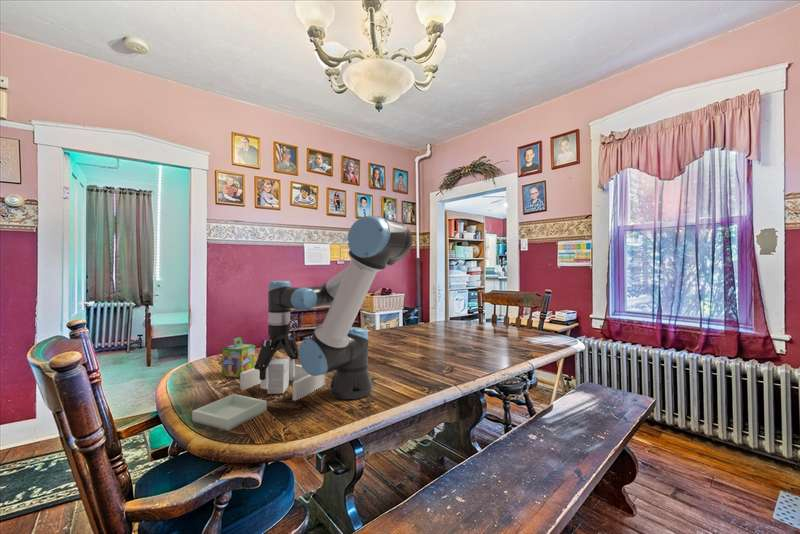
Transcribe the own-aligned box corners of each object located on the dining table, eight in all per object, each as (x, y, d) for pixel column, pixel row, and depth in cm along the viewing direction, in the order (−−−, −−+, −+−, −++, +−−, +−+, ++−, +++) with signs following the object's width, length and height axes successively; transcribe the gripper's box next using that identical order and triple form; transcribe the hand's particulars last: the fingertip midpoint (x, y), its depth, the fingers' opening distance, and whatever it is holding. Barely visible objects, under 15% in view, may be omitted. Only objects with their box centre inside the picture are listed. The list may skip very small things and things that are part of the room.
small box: (273, 385, 124) (274, 357, 124) (289, 385, 124) (289, 357, 124) (266, 394, 116) (267, 364, 116) (283, 393, 116) (283, 363, 116)
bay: (325, 384, 126) (325, 368, 126) (296, 400, 110) (296, 382, 110) (273, 375, 135) (273, 361, 135) (240, 389, 120) (240, 372, 120)
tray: (266, 410, 103) (266, 400, 103) (227, 431, 90) (228, 419, 90) (233, 402, 108) (233, 393, 108) (192, 421, 95) (192, 410, 95)
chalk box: (241, 378, 131) (241, 341, 131) (221, 376, 133) (221, 339, 133) (255, 371, 140) (256, 336, 140) (236, 369, 142) (237, 335, 142)
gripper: (294, 317, 133) (293, 370, 133) (243, 328, 110) (242, 392, 110) (309, 319, 130) (308, 373, 130) (260, 330, 107) (259, 395, 107)
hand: (278, 382), depth 120 cm, fingers open, 13 cm apart
